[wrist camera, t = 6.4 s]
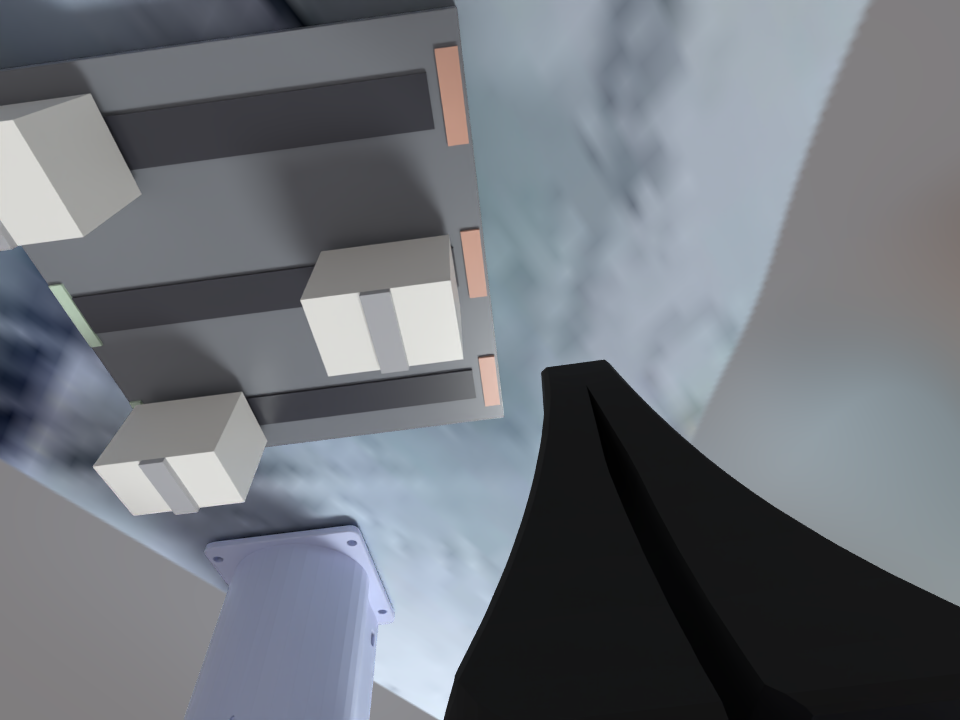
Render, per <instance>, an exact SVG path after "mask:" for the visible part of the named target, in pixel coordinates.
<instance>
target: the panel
mask: <svg viewBox="0 0 960 720" xmlns="http://www.w3.org/2000/svg"><path fill="white" fill-rule="evenodd" d="M90 93H91V95H92V97H93V99H94V101H95V103H96V105H97V107H98V109H99V111H100V113H101V115H102V117H103V119H104V121H105V123H106V125H107V127H108V129H109V131H110V133H111V135H112V137H113V139H114V141H115V143H116V145H117V146H118V148H119V150H120V152H121V154H122V156H123V158H124V160H125V162H126V164H127V166H128V168H129V170H130V172H131V174H132V176H133V178H134V180H135V182H136V184H137V186H138V188H139V190H140V192H141V195H140V196H139V197H137V198H136V199H135V200H133V201H132V202H130V203H129V204H128V205H126V206H125V207H124V208H122V209H121V210H120V211H118V212H117V213H116V214H114V215H113V216H111V217H110V218H109V219H107V220H106V221H105V222H103V223H102V224H101V225H99V226H98V227H97V228H95V229H94V230H92V231H91V232H90V233H88V234H87V235H86V236H84V237H80V238H72V239H65V240H57V241H50V242H42V243H35V244H27V245H21V246H22V247H23V249H24V250H25V252H26V253H27V254H28V256H29V257H30V259H31V260H32V262H33V263H34V265H35V266H36V267H37V269H38V270H39V272H40V273H41V275H42V276H43V278H44V279H45V281H46V282H47V283H48V285H49V288H50V290H51V291H52V292H53V294H54V295H55V297H56V298H57V300H58V301H59V303H60V304H61V305H62V307H63V308H64V310H65V311H66V313H67V314H68V316H69V317H70V318H71V320H72V321H73V323H74V324H75V326H76V327H77V329H78V330H79V331H80V333H81V334H82V336H83V337H84V339H85V340H86V342H87V343H88V344H89V346H90V347H92V349H93V350H94V351H95V353H96V354H97V356H98V357H99V359H100V360H101V362H102V363H103V364H104V366H105V367H106V369H107V370H108V372H109V373H110V375H111V376H112V378H113V379H114V380H115V382H116V383H117V385H118V386H119V388H120V389H121V391H122V392H123V393H124V395H125V396H126V398H127V399H128V401H129V402H130V403H129V404H130V405H131V407H132V408H133V409H134V407H135V406H136V405H141V404H149V403H157V402H165V401H172V400H180V399H188V398H196V397H204V396H212V395H220V394H227V393H235V392H243V394H244V396H245V398H246V400H247V402H248V404H249V406H250V408H251V410H252V412H253V414H254V416H255V418H256V420H257V422H258V424H259V426H260V428H261V430H262V432H263V434H264V436H265V438H266V439H267V443H266V446H265V447H271V446H279V445H287V444H295V443H303V442H311V441H319V440H327V439H335V438H343V437H351V436H359V435H367V434H375V433H383V432H391V431H399V430H406V429H414V428H422V427H430V426H438V425H446V424H454V423H462V422H470V421H478V420H486V419H494V418H502V417H504V412H503V403H502V395H501V386H500V377H499V369H498V360H497V351H496V343H495V334H494V325H493V316H492V308H491V299H490V290H489V282H488V273H487V264H486V256H485V247H484V238H483V230H482V221H481V212H480V204H479V195H478V186H477V178H476V169H475V160H474V152H473V143H472V134H471V126H470V117H469V108H468V100H467V91H466V82H465V74H464V65H463V56H462V48H461V39H460V30H459V22H458V13H457V7H456V6H449V7H442V8H434V9H427V10H420V11H413V12H406V13H399V14H391V15H384V16H377V17H370V18H363V19H356V20H348V21H341V22H334V23H327V24H320V25H313V26H306V27H298V28H291V29H284V30H277V31H270V32H263V33H255V34H248V35H241V36H234V37H227V38H220V39H212V40H205V41H198V42H191V43H184V44H177V45H169V46H162V47H155V48H148V49H141V50H134V51H126V52H119V53H112V54H105V55H98V56H91V57H83V58H76V59H69V60H62V61H55V62H48V63H40V64H33V65H26V66H19V67H12V68H5V69H0V106H3V105H10V104H17V103H25V102H32V101H39V100H46V99H54V98H61V97H68V96H75V95H83V94H90ZM442 235H449V239H450V245H451V251H452V258H453V264H454V270H455V277H456V283H457V290H458V296H459V302H460V312H461V328H462V344H463V359H461V360H453V361H446V362H438V363H430V364H422V365H414V366H409V370H407V371H400V372H392V373H384V374H382V373H381V370H375V371H367V372H359V373H352V374H344V375H336V376H328V374H327V371H326V369H325V366H324V363H323V361H322V358H321V355H320V352H319V350H318V347H317V344H316V342H315V339H314V336H313V333H312V331H311V328H310V325H309V323H308V320H307V317H306V314H305V312H304V309H303V306H302V304H301V301H300V299H301V297H302V295H303V292H304V290H305V288H306V285H307V283H308V281H309V278H310V276H311V274H312V271H313V269H314V267H315V264H316V262H317V260H318V257H319V255H320V253H321V251H328V250H336V249H344V248H351V247H359V246H366V245H374V244H381V243H389V242H397V241H404V240H412V239H419V238H427V237H435V236H442Z"/></svg>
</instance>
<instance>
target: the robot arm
mask: <svg viewBox="0 0 960 720" xmlns="http://www.w3.org/2000/svg"><path fill="white" fill-rule="evenodd" d="M541 376H542V391H543V406H544V420H543V429H542V437H541V444H540V450H539V455H538V460H537V465H536V469H535V474H534V479H533V483H532V487H531V491H530V494H529V498H528V502H527V505H526V509H525V512H524V515H523V519H522V522H521V525H520V528H519V530H518V533H517V536H516V539H515V542H514V545H513V548H512V551H511V553H510V556H509V559H508V561H507V564H506V567H505V569H504V571H503V574H502V576H501V579H500V581H499V583H498V586H497V588H496V590H495V593H494V595H493V597H492V600H491V602H490V604H489V607H488V609H487V611H486V614H485V616H484V618H483V620H482V622H481V624H480V626H479V628H478V630H477V632H476V634H475V636H474V638H473V640H472V642H471V644H470V646H469V648H468V650H467V652H466V654H465V656H464V658H463V660H462V662H461V664H460V666H459V668H458V670H457V672H456V675H455V679H454V683H453V687H452V690H451V694H450V697H449V701H448V705H447V708H446V712H445V716H444V720H960V607H959V606H957V605H954V604H953V603H950V602H948V601H946V600H944V599H942V598H940V597H938V596H936V595H934V594H932V593H930V592H928V591H925V590H923V589H921V588H919V587H917V586H915V585H913V584H911V583H909V582H907V581H905V580H903V579H901V578H898V577H896V576H894V575H892V574H890V573H888V572H886V571H885V570H883V569H881V568H879V567H877V566H875V565H873V564H872V563H870V562H868V561H866V560H864V559H862V558H861V557H858V556H856V555H855V554H853V553H851V552H849V551H848V550H846V549H844V548H842V547H840V546H838V545H837V544H835V543H833V542H832V541H830V540H828V539H826V538H824V537H823V536H821V535H820V534H818V533H816V532H815V531H813V530H811V529H810V528H808V527H807V526H805V525H803V524H802V523H800V522H798V521H797V520H795V519H793V518H792V517H790V516H789V515H787V514H785V513H784V512H782V511H780V510H779V509H777V508H775V507H774V506H773V505H771V504H770V503H768V502H767V501H765V500H764V499H762V498H761V497H759V496H758V495H756V494H755V493H753V492H752V491H750V490H749V489H748V488H746V487H745V486H744V485H742V484H741V483H739V482H738V481H737V480H735V479H734V478H733V477H731V476H730V475H729V474H727V473H726V472H725V471H723V470H722V469H721V468H719V467H718V466H717V465H716V464H714V463H713V462H712V461H711V460H709V459H708V458H707V457H706V456H704V455H703V454H702V453H701V452H700V451H699V450H697V449H696V448H695V447H694V446H693V445H691V444H690V443H689V442H688V441H687V440H686V439H684V438H683V437H682V436H681V435H680V434H679V433H678V432H677V431H675V430H674V429H673V428H672V427H671V426H670V425H669V424H668V423H667V422H666V421H665V420H664V419H663V418H662V417H660V416H659V415H658V414H657V413H656V412H655V411H654V410H653V409H652V408H651V407H650V406H649V405H648V404H647V403H646V402H645V401H644V400H643V399H642V398H641V397H640V396H639V395H638V394H637V393H636V392H635V391H634V390H633V389H632V388H631V387H630V386H629V384H628V383H627V382H626V381H625V380H624V379H623V378H622V377H621V376H620V375H619V374H618V372H617V371H616V370H615V369H614V368H613V367H612V366H611V365H610V363H608V362H607V361H606V360H598V361H591V362H583V363H576V364H568V365H561V366H553V367H546V368H545V369H544V370H543V371H542V372H541ZM204 554H205V555H206V557H207V558H208V559H209V561H210V562H211V563H212V565H213V566H214V567H215V569H216V570H217V571H218V573H219V574H220V575H221V577H222V578H223V579H224V581H225V582H226V583H227V585H228V586H229V589H228V592H227V595H226V598H225V601H224V604H223V606H222V609H221V612H220V615H219V618H218V621H217V624H216V627H215V630H214V633H213V636H212V639H211V642H210V644H209V647H208V650H207V653H206V656H205V659H204V662H203V665H202V667H201V670H200V673H199V676H198V679H197V682H196V685H195V688H194V691H193V694H192V697H191V699H190V702H189V706H188V709H187V711H186V714H185V717H184V720H369V718H370V707H371V697H372V686H373V676H374V665H375V655H376V644H377V633H378V625H382V624H389V623H392V622H393V621H394V618H395V613H394V611H393V608H392V606H391V604H390V601H389V599H388V596H387V594H386V592H385V589H384V587H383V584H382V582H381V580H380V577H379V575H378V572H377V570H376V568H375V565H374V563H373V560H372V558H371V556H370V553H369V551H368V548H367V546H366V544H365V541H364V539H363V536H362V534H361V532H360V530H359V528H357V527H356V526H352V525H347V526H339V527H331V528H323V529H315V530H307V531H298V532H290V533H282V534H274V535H266V536H258V537H249V538H241V539H233V540H225V541H217V542H211V543H208V544H207V545H206V548H205V550H204Z"/></svg>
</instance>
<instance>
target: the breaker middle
mask: <svg viewBox="0 0 960 720" xmlns="http://www.w3.org/2000/svg"><path fill="white" fill-rule="evenodd" d="M300 301H301V304H302V306H303V309H304V312H305V314H306V317H307V320H308V323H309V325H310V328H311V331H312V333H313V336H314V339H315V342H316V344H317V347H318V350H319V352H320V355H321V358H322V361H323V363H324V366H325V369H326V371H327V374H328V376H336V375H344V374H352V373H359V372H367V371H375V370H381V373H382V374H384V373H392V372H400V371H407V370H409V366H414V365H422V364H430V363H438V362H446V361H453V360H461V359H463V344H462V328H461V312H460V302H459V296H458V290H457V283H456V277H455V270H454V264H453V258H452V251H451V245H450V239H449V235H442V236H435V237H427V238H419V239H412V240H404V241H397V242H389V243H381V244H374V245H366V246H359V247H351V248H344V249H336V250H328V251H321V253H320V255H319V257H318V260H317V262H316V264H315V267H314V269H313V271H312V274H311V276H310V278H309V281H308V283H307V285H306V288H305V290H304V292H303V295H302V297H301V299H300Z"/></svg>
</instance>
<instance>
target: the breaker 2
mask: <svg viewBox="0 0 960 720" xmlns="http://www.w3.org/2000/svg"><path fill="white" fill-rule="evenodd" d="M266 443H267V439H266V438H265V436H264V434H263V432H262V430H261V428H260V426H259V424H258V422H257V420H256V418H255V416H254V414H253V412H252V410H251V408H250V406H249V404H248V402H247V400H246V398H245V396H244V394H243V392H235V393H227V394H220V395H212V396H204V397H196V398H188V399H180V400H172V401H165V402H157V403H149V404H141V405H136V406H135V407H134V409H133V410H132V411H131V413H130V414H129V416H128V417H127V418H126V420H125V421H124V423H123V424H122V426H121V427H120V428H119V430H118V431H117V433H116V434H115V435H114V437H113V438H112V440H111V441H110V443H109V444H108V445H107V447H106V448H105V450H104V451H103V452H102V454H101V455H100V457H99V458H98V460H97V461H96V462H95V464H94V465H93V468H94V469H95V470H96V471H97V473H98V474H99V475H100V476H101V478H102V479H103V480H104V481H105V482H106V484H107V485H108V486H109V487H110V488H111V490H112V491H113V492H114V493H115V494H116V496H117V497H118V498H119V499H120V500H121V502H122V503H123V504H124V505H125V506H126V508H127V509H128V510H129V511H130V512H131V514H132V515H133V516H137V515H145V514H153V513H161V512H169V511H173V513H174V514H175V515H181V514H189V513H197V512H198V511H199V509H200V508H202V507H210V506H218V505H226V504H234V503H242V502H245V500H246V497H247V494H248V492H249V489H250V486H251V484H252V481H253V478H254V476H255V473H256V470H257V467H258V465H259V462H260V459H261V457H262V454H263V451H264V448H265V446H266Z"/></svg>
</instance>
